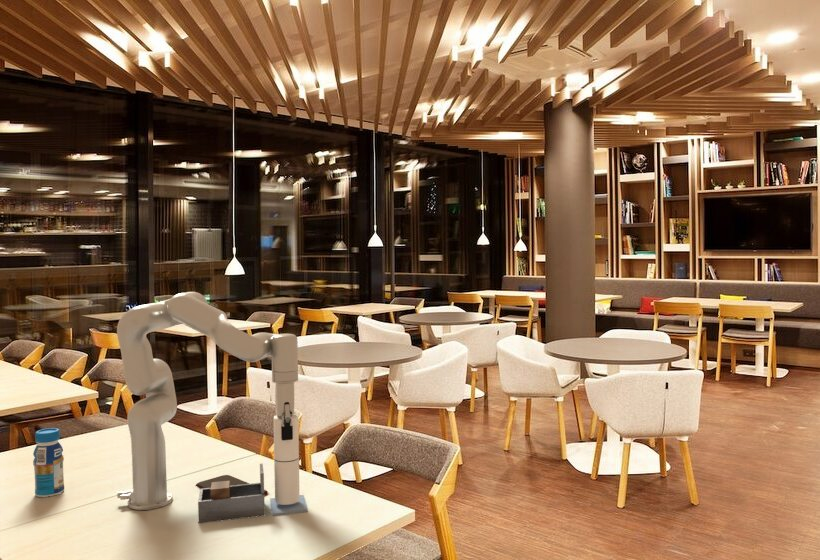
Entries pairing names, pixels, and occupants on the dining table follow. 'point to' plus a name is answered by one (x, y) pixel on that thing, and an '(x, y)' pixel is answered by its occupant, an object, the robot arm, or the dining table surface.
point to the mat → (288, 507)
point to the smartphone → (223, 478)
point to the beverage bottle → (48, 463)
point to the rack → (233, 502)
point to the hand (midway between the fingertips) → (286, 435)
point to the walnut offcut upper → (220, 490)
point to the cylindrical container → (286, 464)
